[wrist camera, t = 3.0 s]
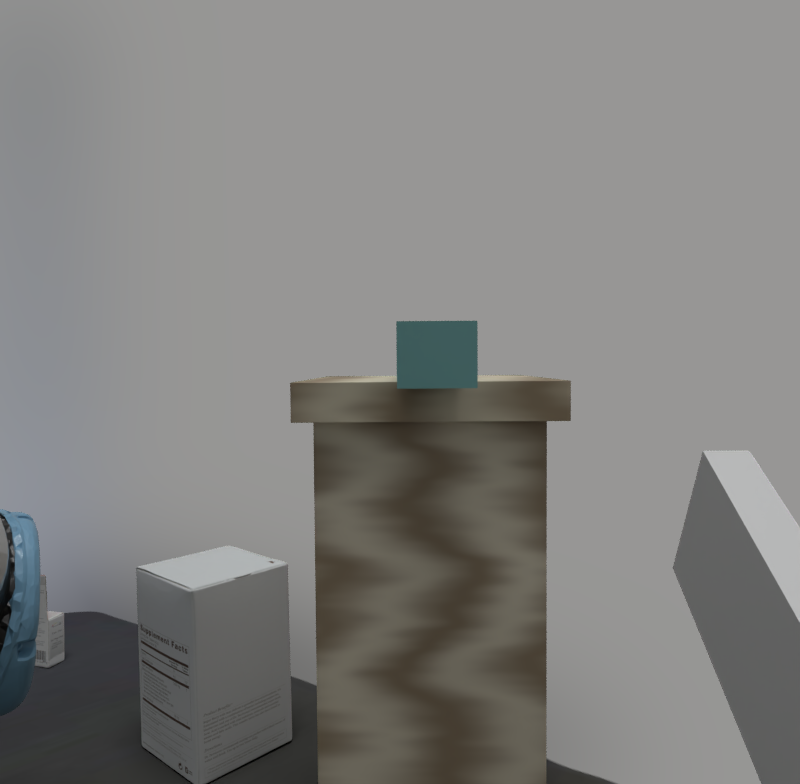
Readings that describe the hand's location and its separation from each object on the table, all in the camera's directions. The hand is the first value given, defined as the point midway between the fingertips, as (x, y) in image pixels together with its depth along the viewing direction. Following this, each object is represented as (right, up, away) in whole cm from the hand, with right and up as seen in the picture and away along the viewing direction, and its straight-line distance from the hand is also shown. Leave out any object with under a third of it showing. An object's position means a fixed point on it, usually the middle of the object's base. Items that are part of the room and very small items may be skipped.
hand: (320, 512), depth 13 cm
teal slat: (+3, +3, +26) cm, 26 cm away
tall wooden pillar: (+3, -27, +32) cm, 42 cm away
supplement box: (-14, -27, +45) cm, 54 cm away
